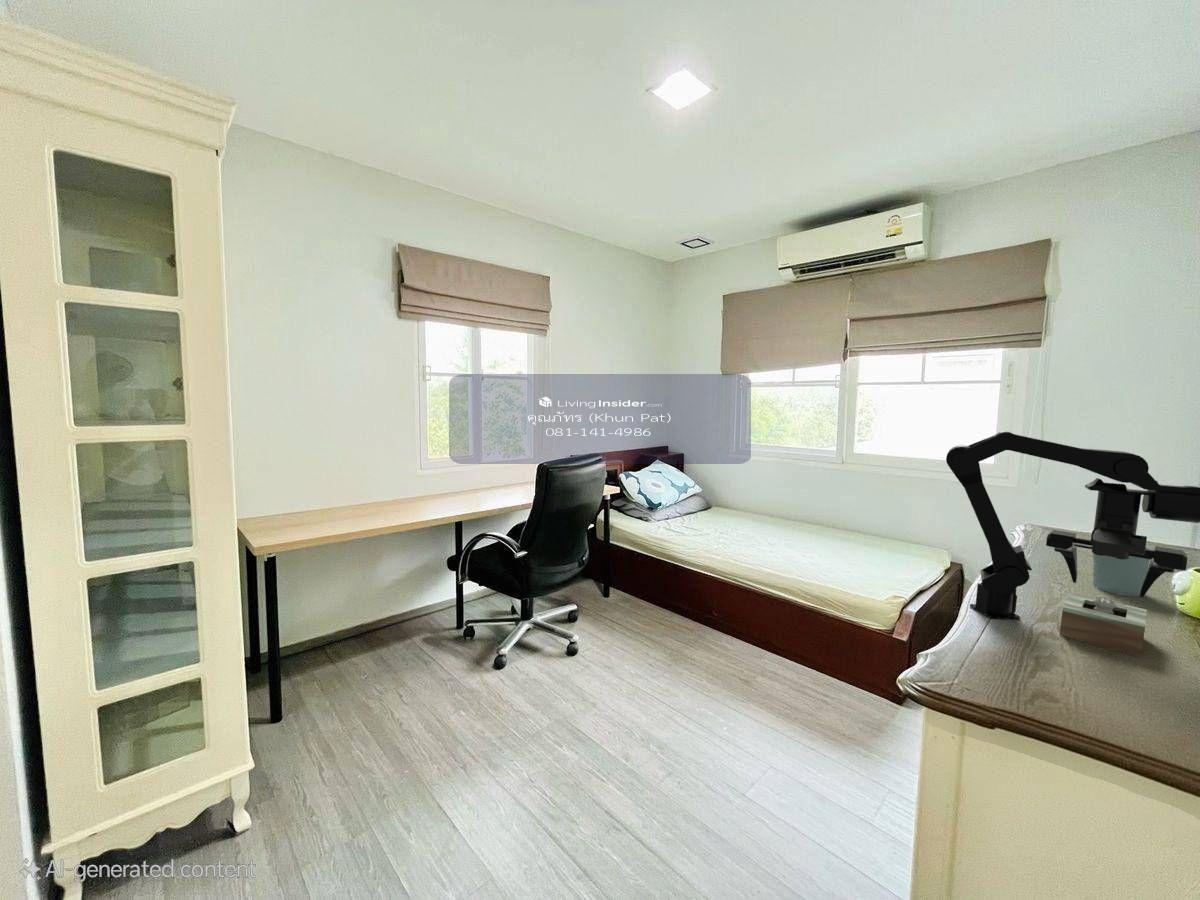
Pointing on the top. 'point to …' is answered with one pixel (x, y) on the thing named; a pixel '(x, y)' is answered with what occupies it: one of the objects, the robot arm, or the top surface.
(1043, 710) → the top surface
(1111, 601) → the rook chess piece
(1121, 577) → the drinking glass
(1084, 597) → the box
